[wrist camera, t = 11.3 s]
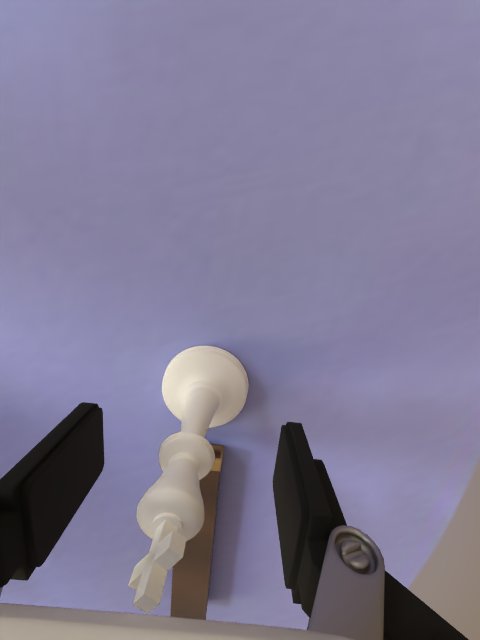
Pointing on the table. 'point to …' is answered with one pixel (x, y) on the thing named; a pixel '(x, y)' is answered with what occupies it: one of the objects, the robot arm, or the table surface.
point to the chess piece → (185, 460)
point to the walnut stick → (198, 553)
